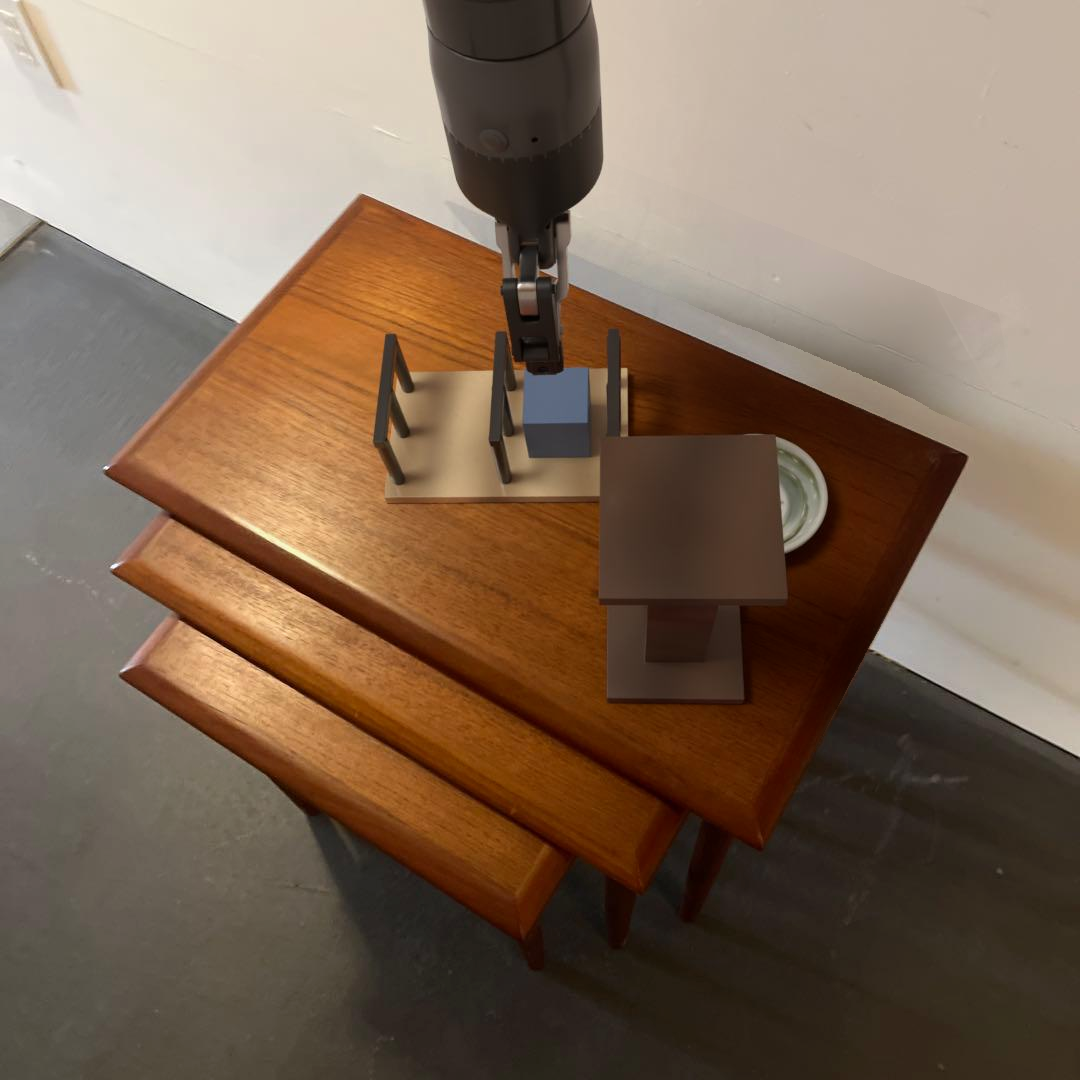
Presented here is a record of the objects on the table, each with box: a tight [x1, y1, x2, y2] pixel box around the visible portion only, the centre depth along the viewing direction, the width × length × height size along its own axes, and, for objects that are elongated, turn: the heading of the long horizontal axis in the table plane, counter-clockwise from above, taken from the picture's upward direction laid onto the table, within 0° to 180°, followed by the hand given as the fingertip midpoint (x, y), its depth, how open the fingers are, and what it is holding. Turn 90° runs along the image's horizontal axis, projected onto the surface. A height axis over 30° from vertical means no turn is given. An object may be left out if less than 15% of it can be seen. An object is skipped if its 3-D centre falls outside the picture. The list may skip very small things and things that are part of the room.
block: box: [522, 366, 591, 458], centre depth 71 cm, size 5×5×5 cm
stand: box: [598, 434, 789, 705], centre depth 58 cm, size 9×9×20 cm
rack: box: [372, 328, 629, 504], centre depth 71 cm, size 18×11×7 cm, turn 88°
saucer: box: [744, 433, 829, 554], centre depth 69 cm, size 10×10×2 cm
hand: (548, 310), depth 60 cm, fingers open, 8 cm apart
